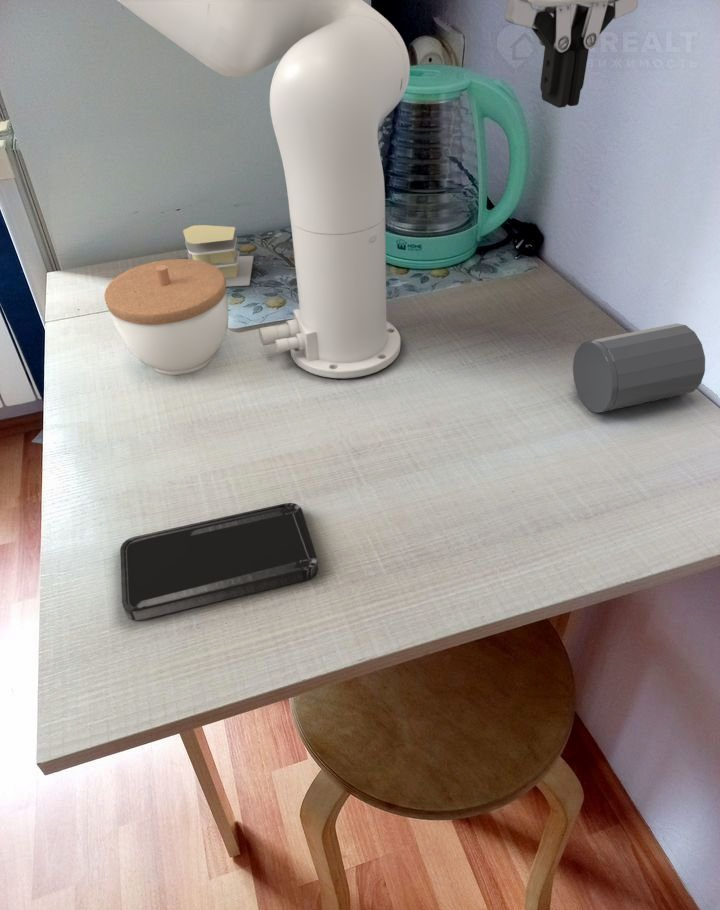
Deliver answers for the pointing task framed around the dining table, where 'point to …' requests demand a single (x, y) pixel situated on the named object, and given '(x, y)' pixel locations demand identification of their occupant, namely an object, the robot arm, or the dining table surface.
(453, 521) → the dining table surface
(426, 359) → the dining table surface
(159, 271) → the lidded bowl
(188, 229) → the stacked layers on plate
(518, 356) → the dining table surface
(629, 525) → the dining table surface
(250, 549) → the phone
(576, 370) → the cup
